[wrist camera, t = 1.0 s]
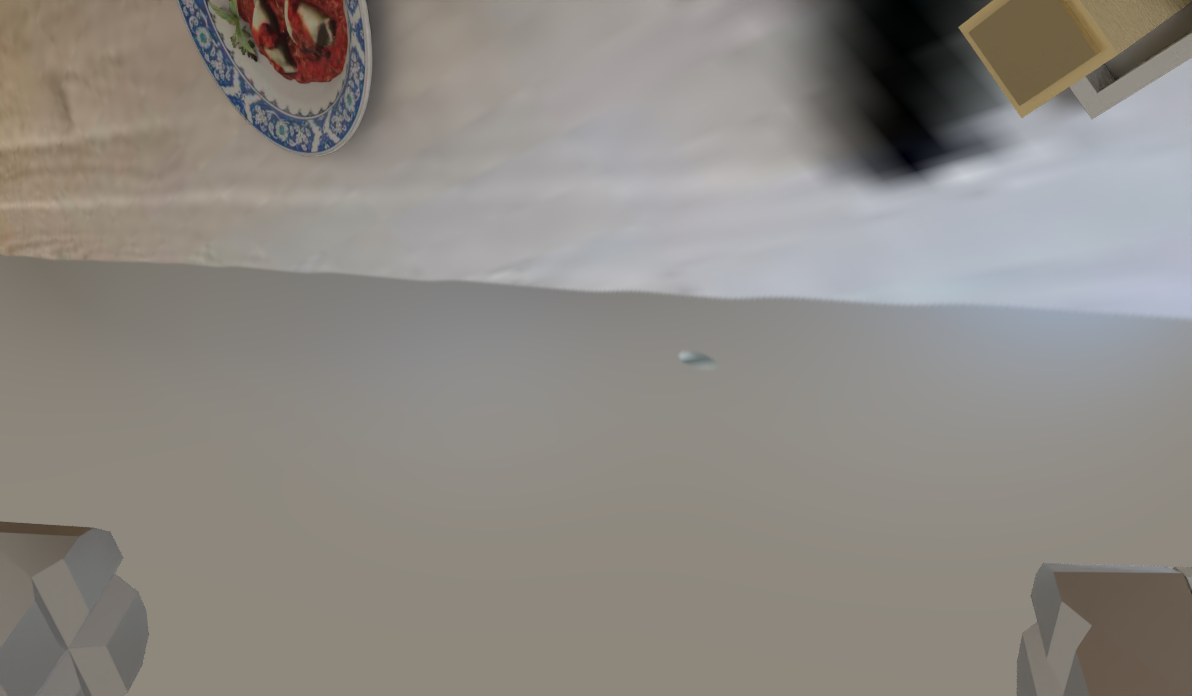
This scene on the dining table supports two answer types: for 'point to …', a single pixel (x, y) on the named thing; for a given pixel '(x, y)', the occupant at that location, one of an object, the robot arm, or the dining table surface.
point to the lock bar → (1057, 41)
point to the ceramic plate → (288, 65)
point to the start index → (1128, 78)
